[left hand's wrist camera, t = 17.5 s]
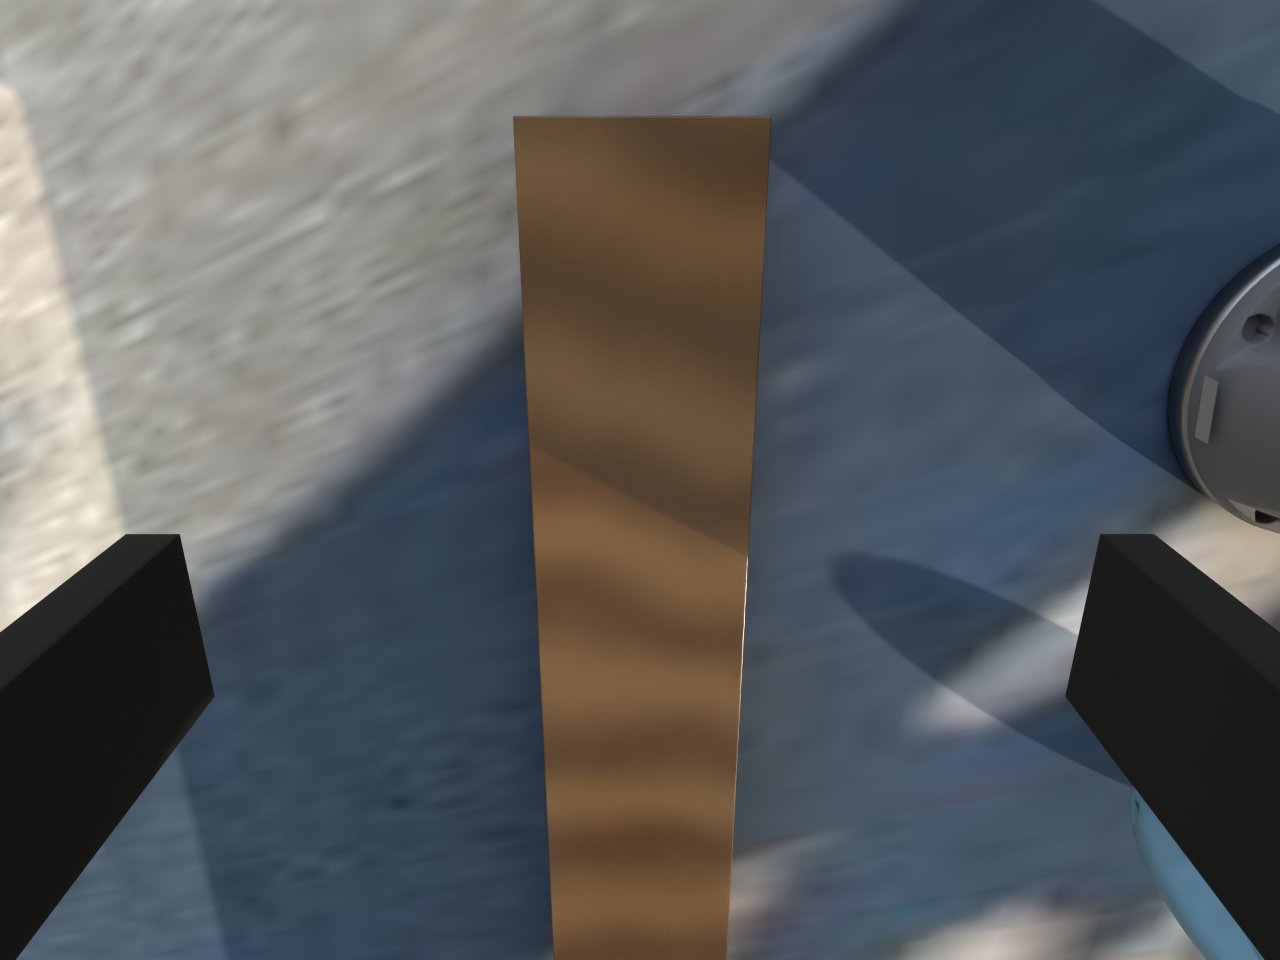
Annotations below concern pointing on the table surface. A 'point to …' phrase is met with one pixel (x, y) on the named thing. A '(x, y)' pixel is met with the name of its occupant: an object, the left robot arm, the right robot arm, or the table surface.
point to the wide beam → (641, 510)
